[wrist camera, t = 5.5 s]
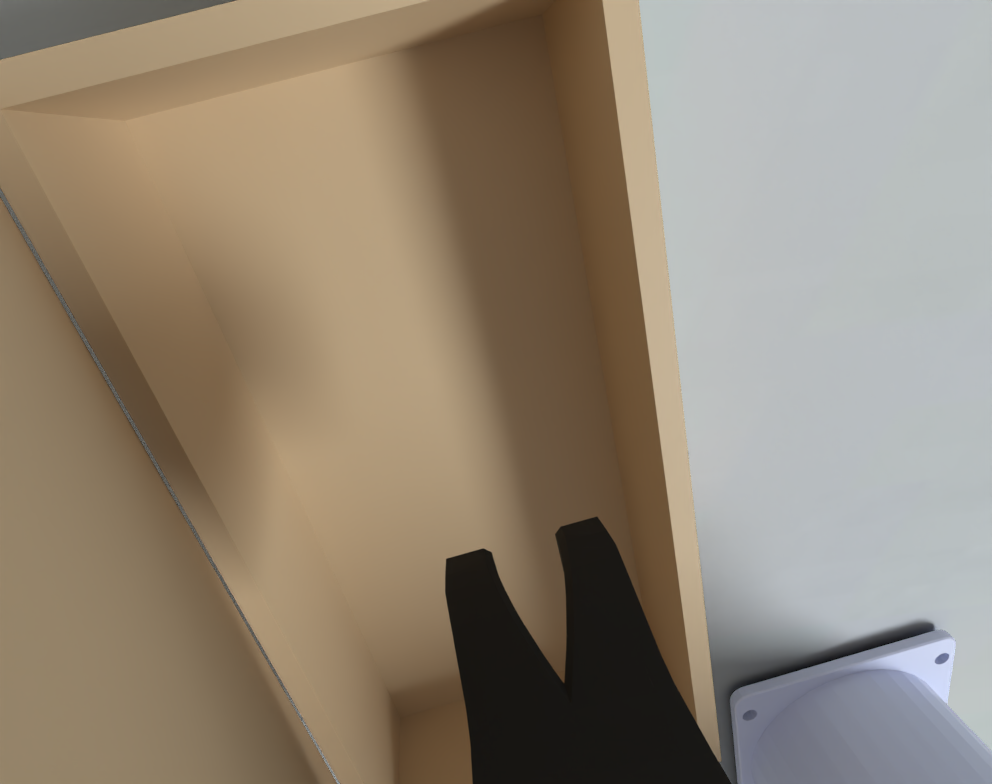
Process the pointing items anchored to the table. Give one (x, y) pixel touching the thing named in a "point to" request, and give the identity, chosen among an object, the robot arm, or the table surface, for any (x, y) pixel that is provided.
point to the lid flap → (112, 588)
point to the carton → (379, 324)
